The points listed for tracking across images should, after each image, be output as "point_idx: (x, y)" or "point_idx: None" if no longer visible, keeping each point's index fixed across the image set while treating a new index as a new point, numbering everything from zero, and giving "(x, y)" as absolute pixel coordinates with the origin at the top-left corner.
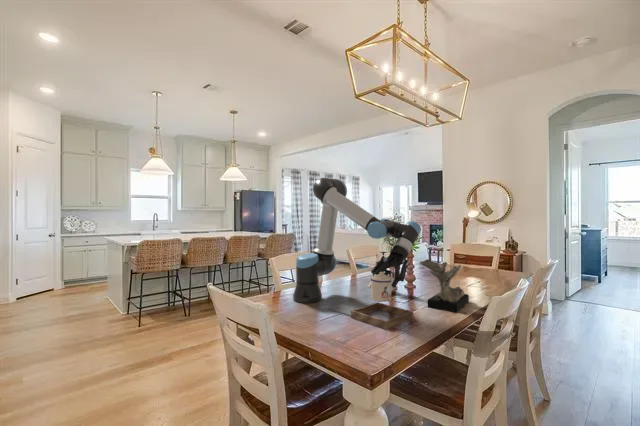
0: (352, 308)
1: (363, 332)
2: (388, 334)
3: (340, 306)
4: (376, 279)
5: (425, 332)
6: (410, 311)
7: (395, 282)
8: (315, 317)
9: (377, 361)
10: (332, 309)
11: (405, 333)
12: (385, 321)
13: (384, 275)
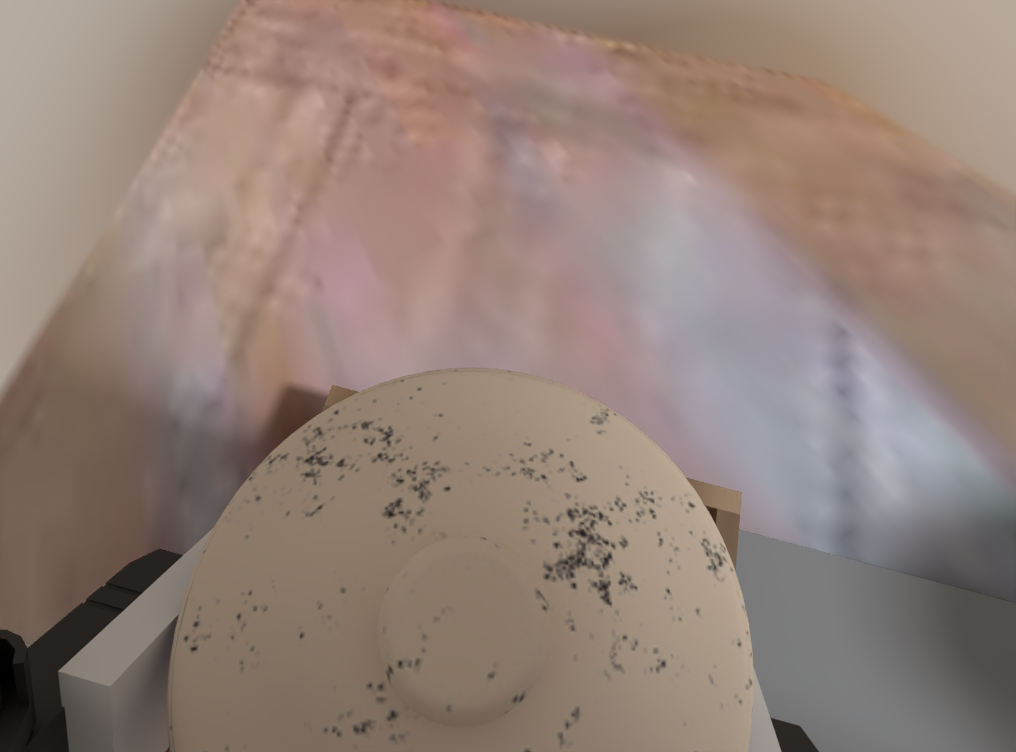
0: (868, 750)
1: (471, 286)
2: (305, 334)
3: (1010, 738)
4: (498, 374)
5: (24, 517)
6: None
7: (76, 610)
8: (916, 360)
9: (270, 46)
10: (982, 595)
11: (188, 411)
12: (342, 392)
13: (345, 579)
